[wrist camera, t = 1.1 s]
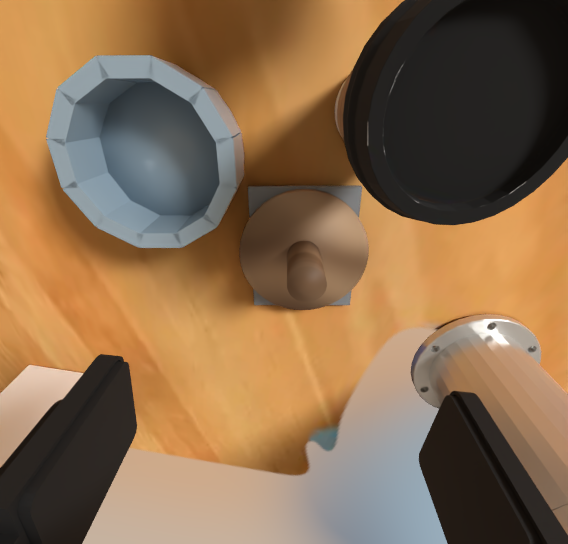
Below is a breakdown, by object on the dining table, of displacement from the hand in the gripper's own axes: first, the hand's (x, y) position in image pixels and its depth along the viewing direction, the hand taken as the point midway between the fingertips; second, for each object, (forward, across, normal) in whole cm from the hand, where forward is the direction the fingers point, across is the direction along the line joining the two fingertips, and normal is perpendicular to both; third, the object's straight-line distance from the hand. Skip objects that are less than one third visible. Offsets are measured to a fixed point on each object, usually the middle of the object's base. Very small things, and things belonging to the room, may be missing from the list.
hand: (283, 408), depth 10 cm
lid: (+19, -1, +3) cm, 20 cm away
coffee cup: (+20, -5, -9) cm, 22 cm away
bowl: (+20, +10, -4) cm, 22 cm away
